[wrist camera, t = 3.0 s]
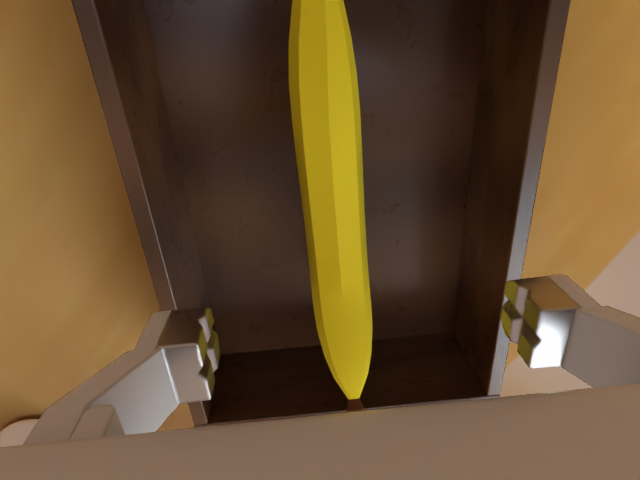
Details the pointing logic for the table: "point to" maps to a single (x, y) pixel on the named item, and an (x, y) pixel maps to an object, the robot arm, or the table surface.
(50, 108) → the table surface
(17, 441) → the drinking glass
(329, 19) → the banana
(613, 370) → the robot arm
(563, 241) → the table surface
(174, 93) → the tray
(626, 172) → the table surface
